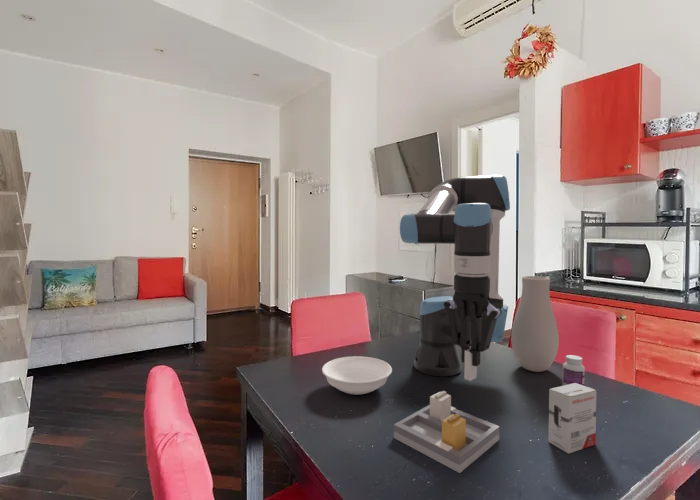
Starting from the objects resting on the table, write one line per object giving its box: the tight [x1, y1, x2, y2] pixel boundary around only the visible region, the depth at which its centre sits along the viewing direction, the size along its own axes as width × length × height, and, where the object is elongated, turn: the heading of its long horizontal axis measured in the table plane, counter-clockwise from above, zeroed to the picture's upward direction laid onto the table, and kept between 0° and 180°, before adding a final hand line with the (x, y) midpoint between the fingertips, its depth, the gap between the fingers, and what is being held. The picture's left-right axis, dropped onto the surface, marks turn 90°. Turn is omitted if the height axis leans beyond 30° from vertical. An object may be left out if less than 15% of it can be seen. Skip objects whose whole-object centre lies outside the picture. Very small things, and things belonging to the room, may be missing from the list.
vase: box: [510, 275, 560, 373], centre depth 119 cm, size 14×14×30 cm
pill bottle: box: [561, 354, 586, 386], centre depth 103 cm, size 5×5×10 cm
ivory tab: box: [429, 390, 452, 421], centre depth 84 cm, size 3×4×6 cm
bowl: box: [321, 355, 393, 396], centre depth 104 cm, size 20×20×6 cm
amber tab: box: [442, 414, 466, 451], centre depth 74 cm, size 3×4×6 cm
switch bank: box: [393, 404, 500, 474], centre depth 79 cm, size 16×16×3 cm
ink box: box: [548, 383, 597, 455], centre depth 77 cm, size 8×5×12 cm, turn 112°
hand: (470, 377), depth 82 cm, fingers closed
